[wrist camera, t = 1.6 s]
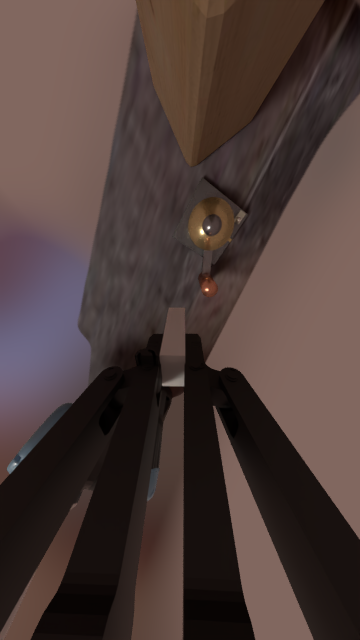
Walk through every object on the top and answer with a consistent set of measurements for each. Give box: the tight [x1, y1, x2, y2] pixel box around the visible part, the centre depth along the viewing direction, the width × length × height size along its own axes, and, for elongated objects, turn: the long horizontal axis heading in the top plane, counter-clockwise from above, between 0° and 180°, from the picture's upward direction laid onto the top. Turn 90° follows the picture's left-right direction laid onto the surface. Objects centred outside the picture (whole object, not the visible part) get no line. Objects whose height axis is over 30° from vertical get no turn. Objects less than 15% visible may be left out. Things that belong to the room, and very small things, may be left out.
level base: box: [172, 178, 248, 265], centre depth 26 cm, size 9×9×2 cm
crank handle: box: [188, 197, 234, 297], centre depth 24 cm, size 13×7×7 cm, turn 0°
